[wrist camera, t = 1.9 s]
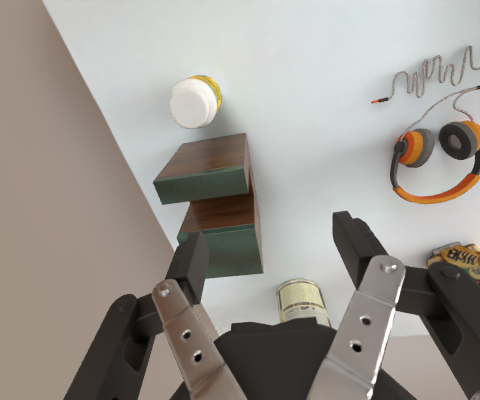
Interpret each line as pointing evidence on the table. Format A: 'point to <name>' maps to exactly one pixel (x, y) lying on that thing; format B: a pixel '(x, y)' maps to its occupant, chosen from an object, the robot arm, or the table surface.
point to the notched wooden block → (217, 202)
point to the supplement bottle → (195, 101)
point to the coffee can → (301, 301)
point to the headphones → (451, 138)
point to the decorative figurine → (459, 258)
